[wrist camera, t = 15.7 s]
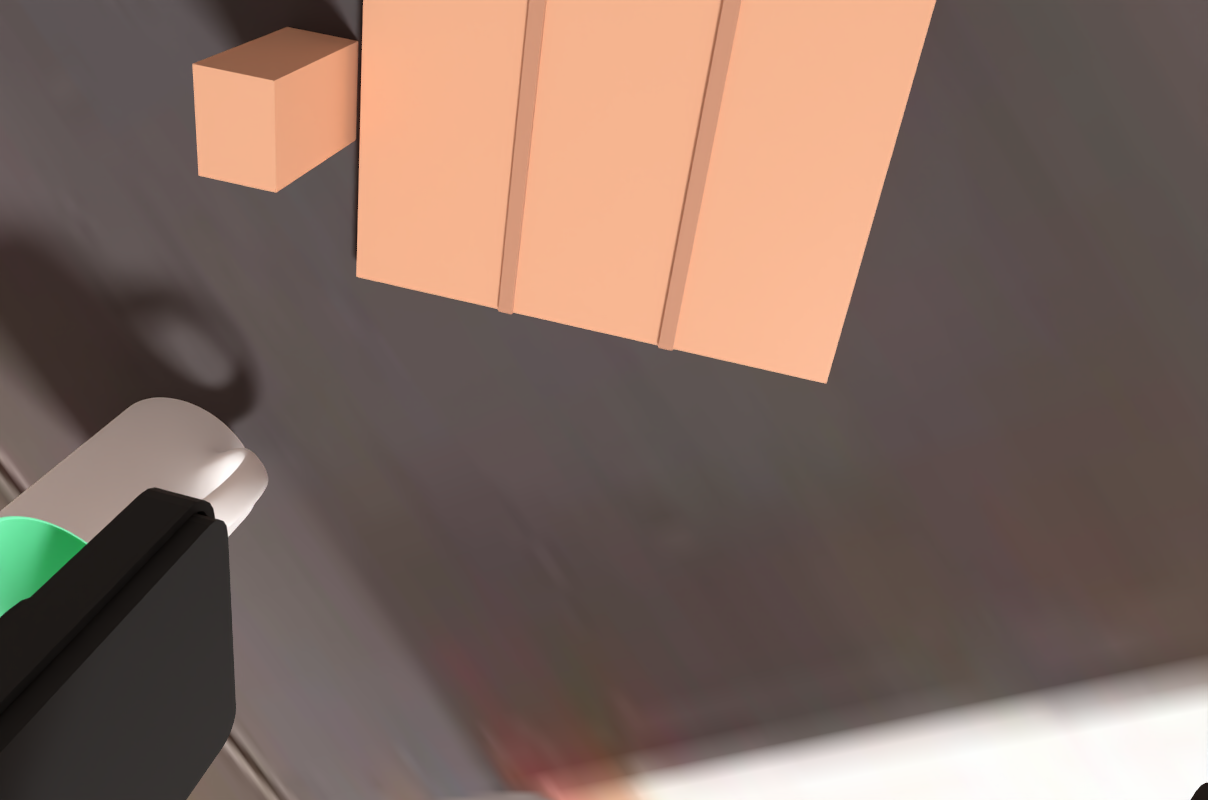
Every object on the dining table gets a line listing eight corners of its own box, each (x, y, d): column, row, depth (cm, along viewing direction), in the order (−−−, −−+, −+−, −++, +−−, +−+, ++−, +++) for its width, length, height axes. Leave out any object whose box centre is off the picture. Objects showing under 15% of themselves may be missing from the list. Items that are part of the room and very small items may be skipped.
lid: (937, -15, 37) (950, 21, 31) (826, 374, 45) (820, 462, 39) (285, -134, 40) (182, -122, 34) (289, 252, 48) (206, 317, 42)
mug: (252, 347, 51) (119, 463, 42) (345, 483, 53) (239, 618, 44) (83, 427, 55) (-68, 546, 47) (176, 547, 58) (50, 681, 49)
